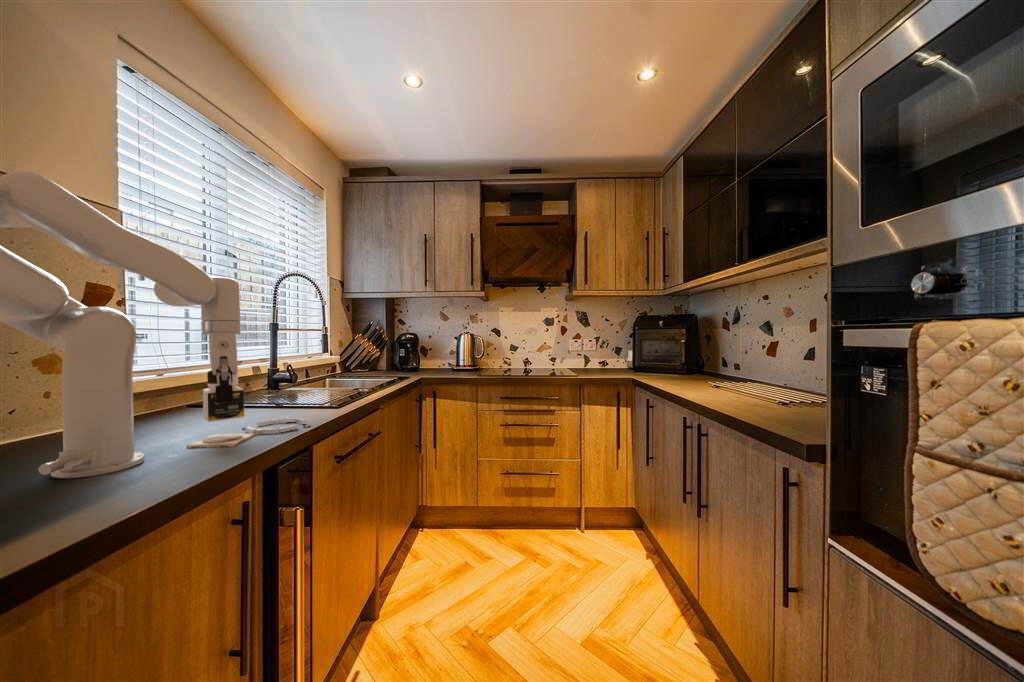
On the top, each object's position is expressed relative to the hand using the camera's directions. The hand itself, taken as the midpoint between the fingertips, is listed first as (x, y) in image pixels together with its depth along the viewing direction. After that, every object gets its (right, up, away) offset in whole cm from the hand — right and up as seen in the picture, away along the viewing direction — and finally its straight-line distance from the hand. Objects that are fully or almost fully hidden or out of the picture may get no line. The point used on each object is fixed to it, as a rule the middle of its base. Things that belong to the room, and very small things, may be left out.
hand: (223, 399), depth 96 cm
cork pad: (0, -10, 0) cm, 10 cm away
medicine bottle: (0, -5, 0) cm, 5 cm away
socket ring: (+5, -10, +14) cm, 18 cm away
